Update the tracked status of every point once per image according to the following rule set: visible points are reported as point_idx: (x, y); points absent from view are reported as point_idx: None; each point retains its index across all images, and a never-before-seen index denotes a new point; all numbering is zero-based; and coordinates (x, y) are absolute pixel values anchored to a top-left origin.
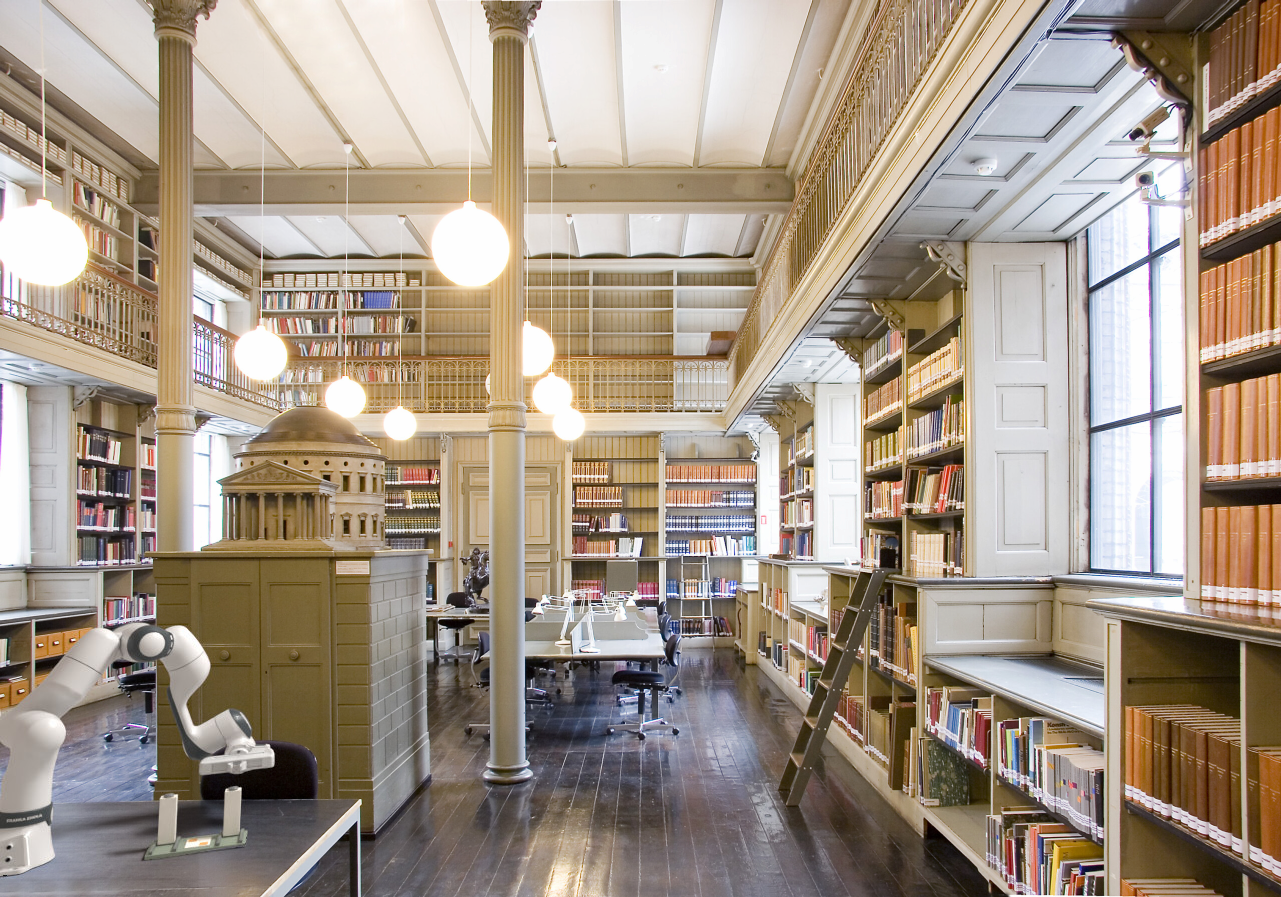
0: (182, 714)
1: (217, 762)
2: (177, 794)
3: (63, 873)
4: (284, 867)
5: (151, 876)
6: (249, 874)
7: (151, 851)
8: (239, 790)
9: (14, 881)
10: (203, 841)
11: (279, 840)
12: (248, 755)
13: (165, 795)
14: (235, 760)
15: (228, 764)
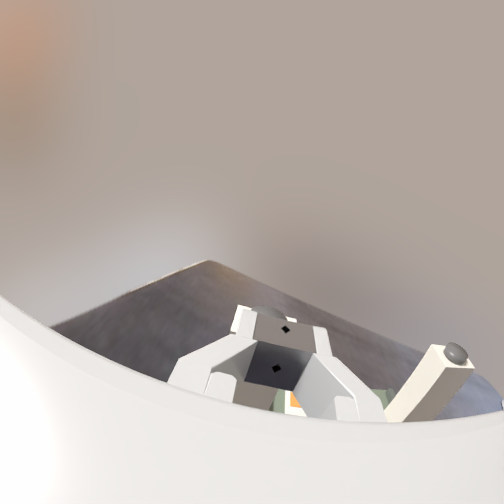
0: None
1: (471, 417)
2: (445, 365)
3: (465, 392)
4: (178, 276)
5: (352, 341)
6: (223, 285)
7: (389, 390)
8: (243, 306)
9: (491, 386)
10: (301, 414)
11: (130, 355)
12: (66, 501)
13: (459, 346)
14: (318, 418)
15: (364, 384)
